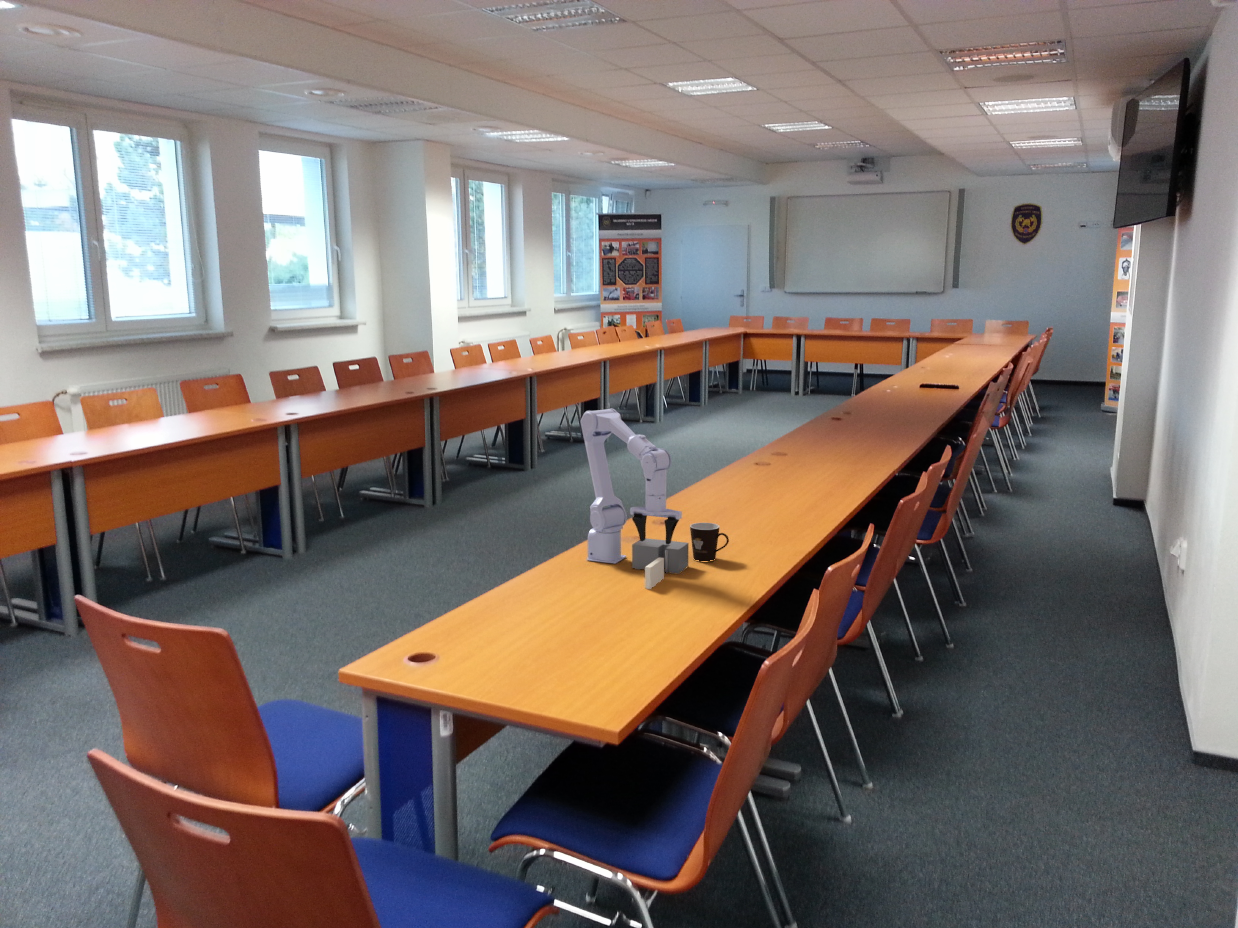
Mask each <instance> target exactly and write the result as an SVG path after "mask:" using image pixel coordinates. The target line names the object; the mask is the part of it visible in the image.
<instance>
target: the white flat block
mask: <svg viewBox="0 0 1238 928" xmlns="http://www.w3.org/2000/svg"><path fill="white" fill-rule="evenodd" d="M664 576H665V569H664V558H660V557H659V558H657V559H656V560H654V561H653V562H652V563H650V564H649V565H647V566H646V567H645V570H644V589H645V588H646V589H645V590H652V589H653V588H654V587H655V586H657V585H658V584H659V583H661V580H662V579H663V580H664V579H665V577H664ZM663 580H662V581H663ZM658 582H659V583H658ZM657 583H658V584H657ZM656 584H657V585H656ZM652 587H653V588H652Z"/></svg>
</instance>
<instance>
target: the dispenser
mask: <svg viewBox="0 0 1238 928" xmlns="http://www.w3.org/2000/svg"><path fill="white" fill-rule="evenodd" d="M689 544H690V543H689V542H685V541H677V540H676V541H675V540H674V541H673V540H671V543H670V544H666V539H658V538H657V539H656V538H647V537H646V538H645V540H644V541H640V539H639V540H636V542H635V543H634V542H633V544H632V546H631V547H632V549H631V555H632V558H631V562H632V564H631V568H635V570H640V569H644V570H643V571H645V567H646V566H647V565H649V564H650V563H652V562H653V561H654V560H656V559H657V558H659V557H660V558H664V568H665V569H664V573H665V572H666V573H665V574H669V573H668V572H671V573H670V574H674V573H677V575H679V574H681V573H682V572H683V571H685V570H686V569H687V568H688V567H689ZM687 566H688V567H687ZM686 567H687V568H686ZM685 568H686V569H685ZM684 569H685V570H684ZM681 571H682V572H681ZM680 572H681V573H680Z"/></svg>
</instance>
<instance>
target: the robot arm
mask: <svg viewBox="0 0 1238 928" xmlns="http://www.w3.org/2000/svg"><path fill="white" fill-rule="evenodd" d="M621 416H622V415H621V414H620V413H619V412H617V410H616V409H614V408H611V407H610V408H608V409H600V410H599V409H598V410H586V411H585V412H584V413H583V415H582V417H581V418H580V426H581V431H582V435H583V436H582V437H583V440H584V445H585V450H586V454H587V455H586V456H587V461H588V465H589V469H590V475H591V480H592V485H593V489H594V495H595V499H594V501H593V502H592V504H591V505H590V506H589V509H590V516H589V521H590V525H591V527H592V528H591V529H590V530H589V532H588V534H587V558H586V561H590V562H598V563H605V564H606V563H607V564H618V563H619V562H620V561H622V560H624V559H625V558H627V555H626V554H622V530H623V529H624V526H625V525H626V524H627V520H628V516H627V515H628V514H627V511H626V509H625V507H624V504H623V501H622V500H621V499H620V498H618V497H617V496H616V495H615V493H614V489H613V484H612V478H611V473H610V468H609V463H608V458H607V454H606V448H605V441H606V440H607V439H608V438H610V436H611V435H612V434H613V435H615V436H616V437H617V438H619V439H620V440H621V441H623V442H624V443H626V445H627V450H628V452H629V453H630V454H632V455H633V456H634V457H635V458H636V459H637V460H639V461H640V465H641V469H642V470H643V476H644V478H645V493H644V494H645V504H644V505H645V506H632V507H629V508H630V509H629V513H630V515H631V516H632V515H633V516H632V518H631V519H632V522H633V523H634V526H635V528H636V530H637V532H638V536H639V537H638V538H639V540H640V541H644V540H645V538H647V537H646V533H647V532H646V527H647V525H646V524H647V519H648V518H647V517H648V516H649V517H655V518H666V519H665V520H664V522H663V523H664V526H665V540H666V544H670V543H671V541H672V539H673V535H674V533H675V532H674V531H675V529H676V527H677V525H678V523H679V522H680V520H681V519H682V516H683V514H682V512H683V511H682V510H675V509H672V508H667V473H668V472H667V470H669V469H670V467H671V465H672V458H671V454H670V453H669V451H668V450H667V449H665V448H659V447H657V446H656V445H655V444H653V443H652V442H651V441H650V440H648V439H647V436H646V435H644V434H636V433H635V432H634V431H633V430H632V429H631V428H630V427H629V426H628V425H627V424H626V423H625V422H624V421H623V420H622V417H621Z"/></svg>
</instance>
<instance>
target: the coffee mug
mask: <svg viewBox="0 0 1238 928" xmlns="http://www.w3.org/2000/svg"><path fill="white" fill-rule="evenodd" d="M689 530H690V538H691V547H692V549H691V550H692V557H693V558H694V559H695V560H699V561H710V560H714V559H715V560H716V556H717V552H719V551H720V550H722V549H724V548H726V547H727V545H728V544H729V542H730V540H729V536H728V535H727V534H726V533H724V532H720V525H719V524H717V523H713V522H695V523H691V524H690V525H689ZM719 532H720V533H719ZM720 536H724V537H725V538H726V542H725V544H724V545H723V546H721V547H719V548H718V541H719V537H720ZM693 558H692V559H693ZM694 559H693V560H694ZM695 560H694V561H695Z"/></svg>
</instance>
